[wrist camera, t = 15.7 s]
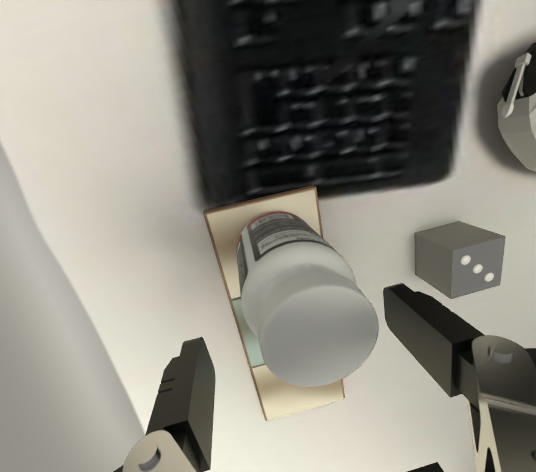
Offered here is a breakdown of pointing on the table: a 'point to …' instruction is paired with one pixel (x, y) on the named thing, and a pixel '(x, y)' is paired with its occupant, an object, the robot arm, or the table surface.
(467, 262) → the die
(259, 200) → the board
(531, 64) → the robot toy
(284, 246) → the pill bottle
